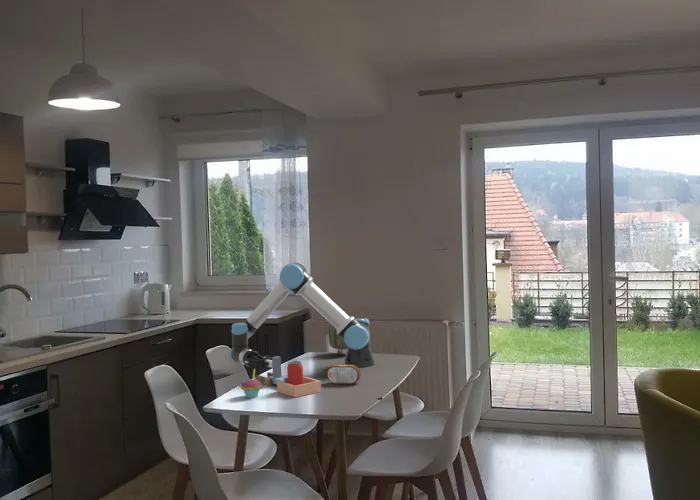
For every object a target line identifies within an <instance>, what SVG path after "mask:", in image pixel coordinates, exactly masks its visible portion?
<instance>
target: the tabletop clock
mask: <svg viewBox="0 0 700 500" xmlns="http://www.w3.org/2000/svg"><path fill="white" fill-rule="evenodd" d="M341 309H342V308H341ZM342 310H343V311H344V312H345V313H346V314H347V315H348V312H347V311H346V310H345V309H342ZM329 324H330V325H329V326H328V342H329V343H328V344H329V347H331V348H333V349H335V350H337V353H338V354H339V356H343V350H347V345H346V344H345V342H344V340H343V339H342V338H341V337H340V336H339V335H338V334H337V329H336V328H335V327H334V326H333V325H332V324H331V323H329Z"/></svg>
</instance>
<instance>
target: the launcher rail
mask: <svg viewBox="0 0 700 500" xmlns="http://www.w3.org/2000/svg"><path fill="white" fill-rule="evenodd" d="M266 375H267V377H266V376H263V375H259V374H255V377H254V379H256V380H258V381H260V382H261V383H262V385H265V386H268V387H274V386H277V385H276V384H273V383H272V379H270V378H269V377H270V376H273V372H266ZM282 377H285V376H283V375H282Z"/></svg>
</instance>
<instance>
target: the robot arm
mask: <svg viewBox="0 0 700 500" xmlns="http://www.w3.org/2000/svg"><path fill="white" fill-rule="evenodd" d="M313 279H314V277H312V276H311V275H310V274H309V273H308V271H307V269H306V267H305V266H304V265H303V264H301V263H298V262H292V263H287V264H286V265H285V266H283V267H282V268H281V270H280V272H279V280H278V283H277V284H276V285H275V286H274V287H273V289H272V290H271V291H270V292H269V293H268V295H267V296H266V297H264V299H263V300H262V301H261V302H260V303H259V304H258V306H256V308H255V309H254V310H253V311H252V312H251V313H250V314H249V316H248V317H247V318H246V319H245V320H244V321H243V322H236V323H232V325H231V330H230V331H231V340H232V341H231V342H232V348H231V349H230V351H229V358H230V359H231V361H233V362H234V363H236V364H240V365H244V366H246V367H250V368H253V367H254V368H255V367H262V368H266V367H268V368H272V369H273V367H272V357H271V356H270V355H268V354H267V355H265V356H263V355H261V354H260V353H259V352H258V351H255V350H252V349H250V348H249V339H250V338H251V337H252V336H253V335H254V334H255V332H257V330H258V329H259V328H260V327H261V326H262V325H263V323H264V322H265V321H266V320H267V319H268V318H269V317H270V316H271V315H272V313H273V312H274V311H275V310H276V309H277V308H278V307H279V306H280V305H281V304H282V302H283V301H284V300H285V299H286V298H287V297H288V295H289V294H291V293H293V294H294V295H295V296H301V297H302V298H303V299H304V300H305V301H306V302H307V303H308V304H310V305H311V306H312V307H313V308H314V310H316V311H317V313H318V314H320V315H321V316H322V317H323V318H325V320H326V321H328V323H329V324H332V325H333V326H334V327H335V328H336V329H337V334H338V335H339V336H340V337H341V338H342V339H343V340H344V342H345V344H346V345H347V349H346V352H345V357H344V362H343V364H348V365H355V366H357V367H358V368H361V367H362V368H364V367H369V366H373V365H375V358H374V354H373V352H372V350H371V339H370V338H371V336H370V335H371V334H370V333H371V332H370V324H371V323H370V320H369V318H356V317H355V316H350V315H348V313H347V314H346V312H345V311H343V310H344V309H343V310H342V308H341V307H340V306H339V305H337V303H335V302H334V301H333V300H332V299H331V298H330V297H329V296H328V295H327V294H326V293H325V292H324V291H323V290H322V289H320V287H318V285H316V284H315V283H314V280H313Z"/></svg>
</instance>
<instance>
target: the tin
mask: <svg viewBox="0 0 700 500" xmlns="http://www.w3.org/2000/svg"><path fill="white" fill-rule="evenodd" d="M361 375H362V373H361V370H360V367H357V366H355V365H348V364H344V363H335V364H332V365H331V366H329V368H327V371H326V378H327V380H328V381H329V382H330V383H332V384H335V385H353V384H357V383H358V381H360V379H361Z"/></svg>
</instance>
